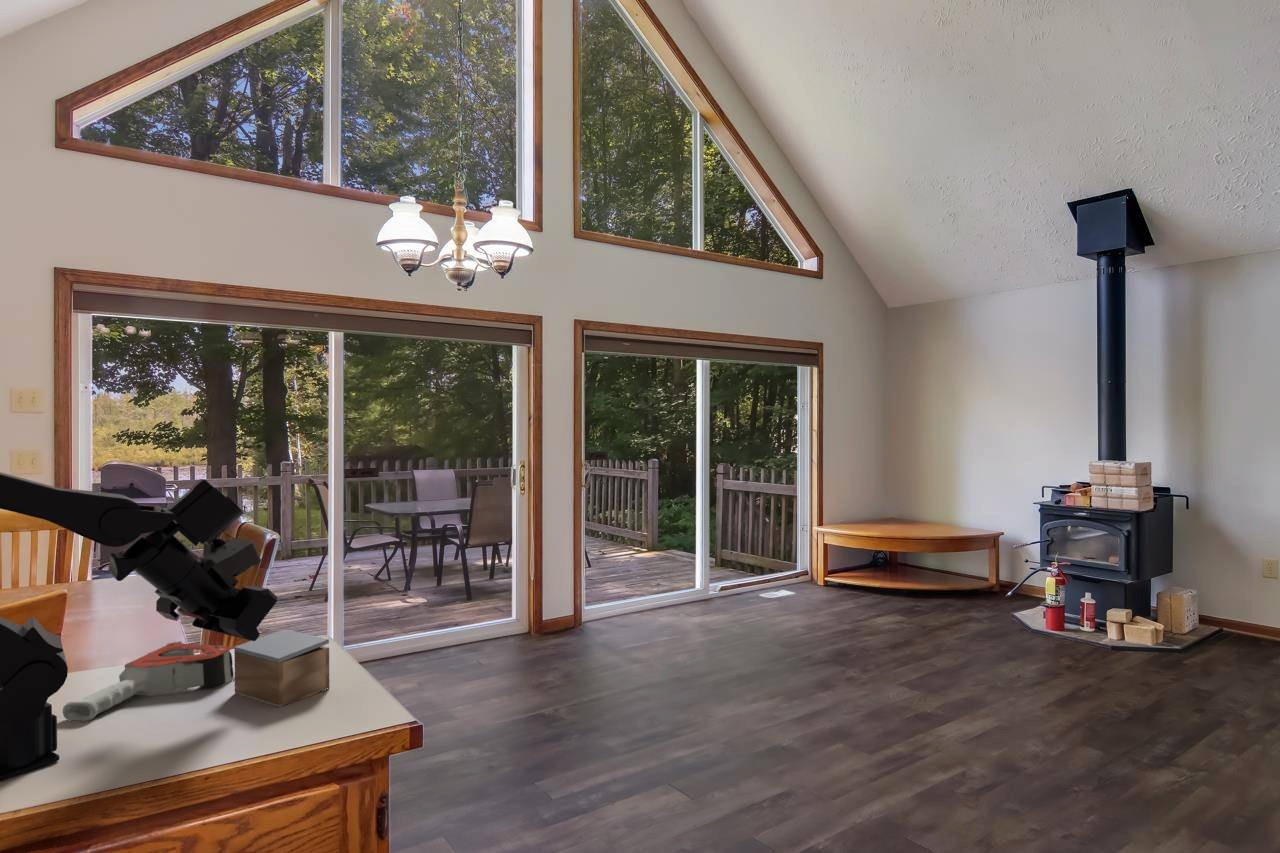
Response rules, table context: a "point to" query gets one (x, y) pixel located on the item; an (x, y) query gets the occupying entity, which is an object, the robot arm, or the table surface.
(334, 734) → the table surface
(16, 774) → the robot arm
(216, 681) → the tape dispenser
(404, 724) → the table surface
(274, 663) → the box
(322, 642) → the lid
